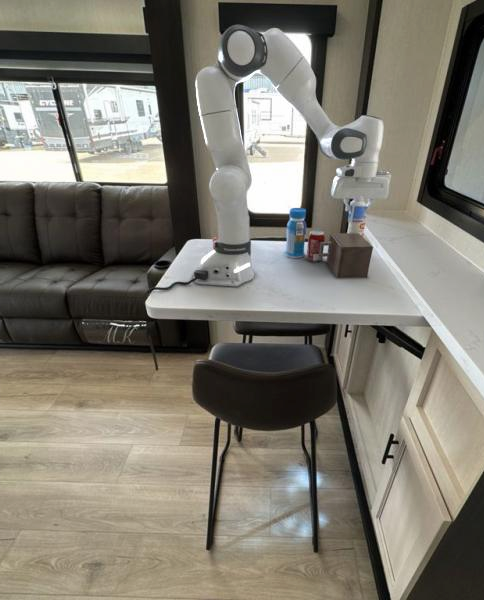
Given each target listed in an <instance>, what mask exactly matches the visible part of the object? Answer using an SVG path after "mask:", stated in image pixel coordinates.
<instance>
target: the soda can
mask: <svg viewBox="0 0 484 600" xmlns="http://www.w3.org/2000/svg"><path fill="white" fill-rule="evenodd" d="M324 234H325V232H324V231H323V230H322V231H321V230H311V231H310V233H309V235H308V238H307V250H306V259H307V260H308V261H310V262H313V263H316V262H317V263H318V262H321V261H322V260H323V258H324V257H319V248H320V242H326V241H325V240H326V236H325V235H324ZM324 249H325V246H323V248H322V253H324Z"/></svg>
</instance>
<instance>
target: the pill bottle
mask: <svg viewBox="0 0 484 600" xmlns="http://www.w3.org/2000/svg"><path fill="white" fill-rule="evenodd" d="M366 205H367V203H366V202H365V199H363V196H359V198H358V199H352V201H350V202H349V206H351V209H350V210H351V211H348V217H347V222H348V224H349V223H352V224H361V223H362V222H363V217H364V215H365V206H366Z"/></svg>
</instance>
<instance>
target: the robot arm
mask: <svg viewBox="0 0 484 600" xmlns="http://www.w3.org/2000/svg"><path fill="white" fill-rule="evenodd" d="M254 74H260V75H262V76H264V77H265V78H266V79H267V80H268V81H269V83H270V84H271V85H272V87H273V88H274V89H275V90H276V92H277V93H278V94H279V95H280V96H281V98H282V99H283V100H285V101H286V102H287V104H289V105H290V106H291V107H292V108H293V109H294V110H295V111H297V113H298V114H299V115H300V116H301V117H302V118H303V119H304V121H305V122H306V124H307V126H308V127H309V128H310V130H311V131H312V133H314V136H315V137H316V139H317V144H318V147H319V150H320V152H321V153H322V154H323V155H324V156H325V157H326V158H329V159H335V160H338V161H346V160H351V163H349V164H345V165H344V166H343V165H342V166H340V167H338V168H336V175H335V177H334V179H333V180H332V184H331V188H330V189H331V190H330V195H331V197H332V198H333V199H335V200H337V199H338V200H343V203H344V205H345V209H344V211H345V212H349V211H351V210H350V209H351V206H350V204H349V203H350V200H354V199H358V198H359V196H363V199H364V200H367V203H366V205H365V211H364V213H365V212H369V211H370V207H371V206H372V204H374V201H375V200H386V199H387V198H388V196H389V190H390V183H391V179H392V174H391V173H390V172H389V171H388V170H378V168H379V167H378V166H379V160H380V159H379V155H380V152H381V149H382V144H383V140H384V132H385V131H384V130H385V125H384V120H382V119H381V118H380V117H378V116H374V115H369V114H363V115H361V116H359V118H357V119H356V120H354V121H352V122H350V123H347V124H346V125H343V126H339V125H337V124H335V123H333V122H332V121H331V120H330V118H329V117H328V115H327V114H326V112H325V111H324V109H323V108H322V106H321V105H320V103H319V102H318V99H317V94H316V92H317V91H316V89H317V77H316V75H315V73H314V71H313V68H312V65H310V63H309V61H308V60H307V58H306V57H305V56H304V54H303V53H302V52H301V50H300V49H299V48H298V47H297V45H296V44H295V43H294V42H293V41H292V39H291V38H289V36H288V35H286V34H285V32H284V31H282V29H280V28H277V27H272V28H269V29H268V30H266V31H265V32H263V33H262V32H260V31H257V30H254V29H252V28H250V27H249V26H246V25H243V24H234V25H231V26H230V27H228V28H227V29H225V30H224V32H223V33H222V34H221V37H220V40H219V44H218V47H217V54H216V61H215V63H214V64H213V65H211V66H210V65H209V66H206V67H204V68H202V69H200V70H199V72H197V74H196V77H195V92H196V102H197V103H196V104H197V108H198V113H199V117H200V123H201V127H202V132H203V137H204V140H205V141H204V142H205V145H206V148H207V150H208V151H209V153H210V155H211V158H212V160H213V163H214V166H215V169H216V170H215V171H214V172H213V173H212V176H211V178H210V179H209V180H210V181H209V192H210V195H211V197H212V202H213V205H214V209H215V214H216V221H217V235H218V237H217V236H214V237H213V238H212V250H210V251H209V252H208V253H206V254H205V255H203V257H202V258H201V260H200V262H199V267H197V268H196V269H195V271H193V278H192V279H190V280H189V281H174V282H172V283H171V284H170V285H169V286H165V287H163V286H162V287H160V286H154V287H150V288H148V290H146V292H145V293H146V294H150V293H151V292H153V291H168V290H170V289H172V288H174V286H176V285H183V286H187V285H190V284H192V283H193V282H195V283H196V284H198V285H206V286H207V285H209V286H221V287H235V288H236V287H239V286H240V285H242V284H244V283H247V282H249V281H252V279H253V278H254V277H255V272H254V269H253V265H252V257H251V256H252V240H251V237H250V214H249V208H248V207H249V206H248V197H247V195H248V191H249V190H250V188H251V186H252V173H251V169H250V164H249V161H248V157H247V152H246V149H245V145H244V141H243V137H242V131H241V125H240V121H239V115H238V108H237V104H236V96H235V91H236V87H238V86H240V85H242V84H244V83H245V82H247V81H248V80H249V79H250V78H252V76H253V75H254ZM147 338H148V342H149V346H150V351H151V354H152V358H153V362H154V366H155V367H154V368H155V371H159V365H158V359H157V355H156V351H155V347H154V344H153V341H152V335H151V334H147Z"/></svg>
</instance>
